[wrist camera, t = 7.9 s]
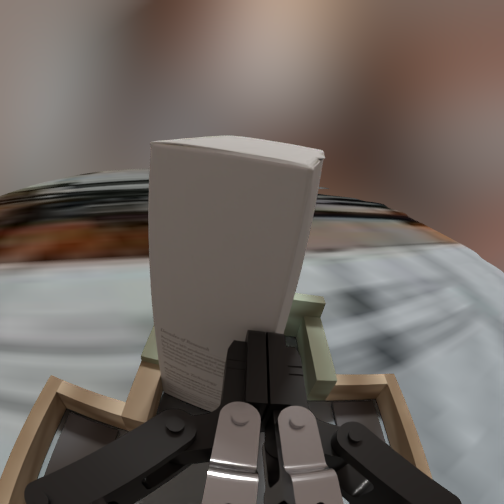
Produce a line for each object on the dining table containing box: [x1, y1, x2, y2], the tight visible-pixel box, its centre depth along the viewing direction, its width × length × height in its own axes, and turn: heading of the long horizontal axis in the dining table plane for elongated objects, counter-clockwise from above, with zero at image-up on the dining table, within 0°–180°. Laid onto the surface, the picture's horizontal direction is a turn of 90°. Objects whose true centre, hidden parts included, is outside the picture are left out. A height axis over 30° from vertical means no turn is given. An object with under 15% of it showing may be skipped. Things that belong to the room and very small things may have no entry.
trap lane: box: [0, 293, 432, 504], centre depth 13 cm, size 24×24×4 cm
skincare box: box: [148, 136, 325, 412], centre depth 16 cm, size 8×7×16 cm
